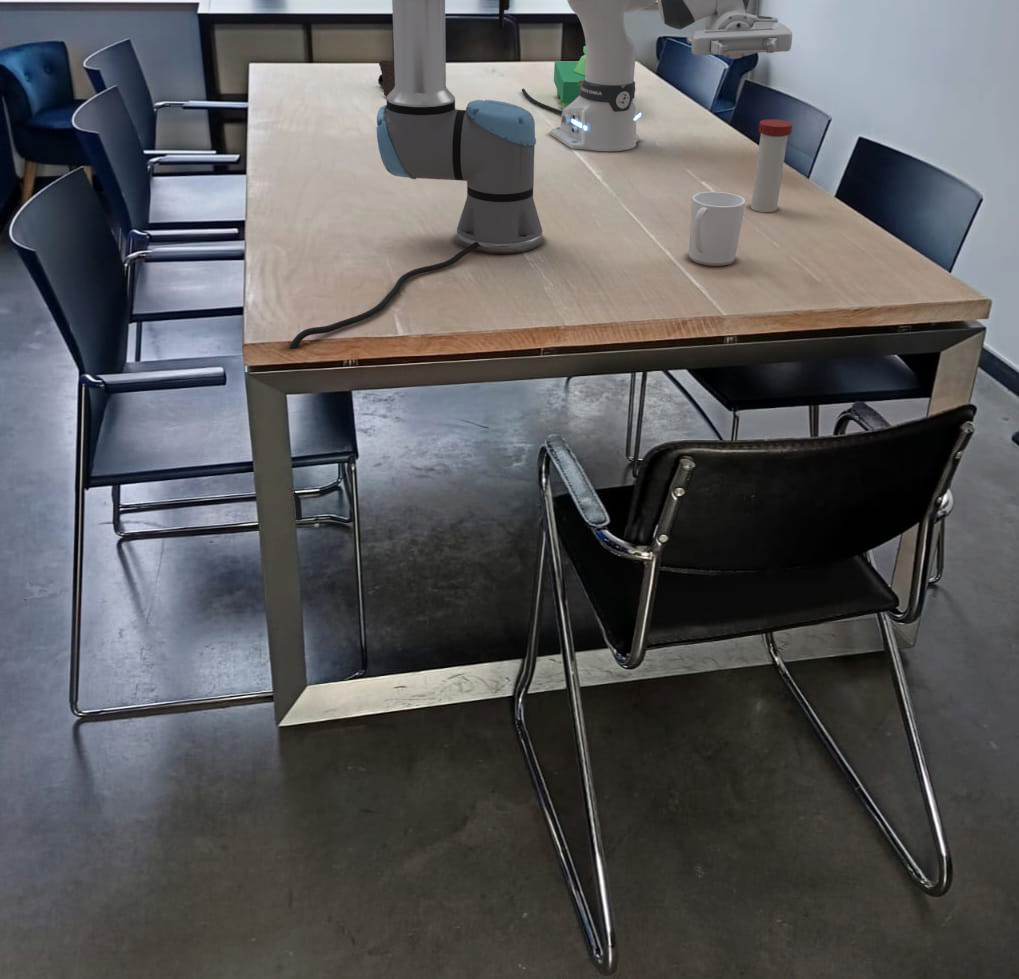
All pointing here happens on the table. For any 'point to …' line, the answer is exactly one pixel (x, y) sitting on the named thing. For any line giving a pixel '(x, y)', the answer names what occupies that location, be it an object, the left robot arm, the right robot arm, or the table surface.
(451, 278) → the table surface
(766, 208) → the jar
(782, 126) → the lid
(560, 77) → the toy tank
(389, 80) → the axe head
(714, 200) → the mug
